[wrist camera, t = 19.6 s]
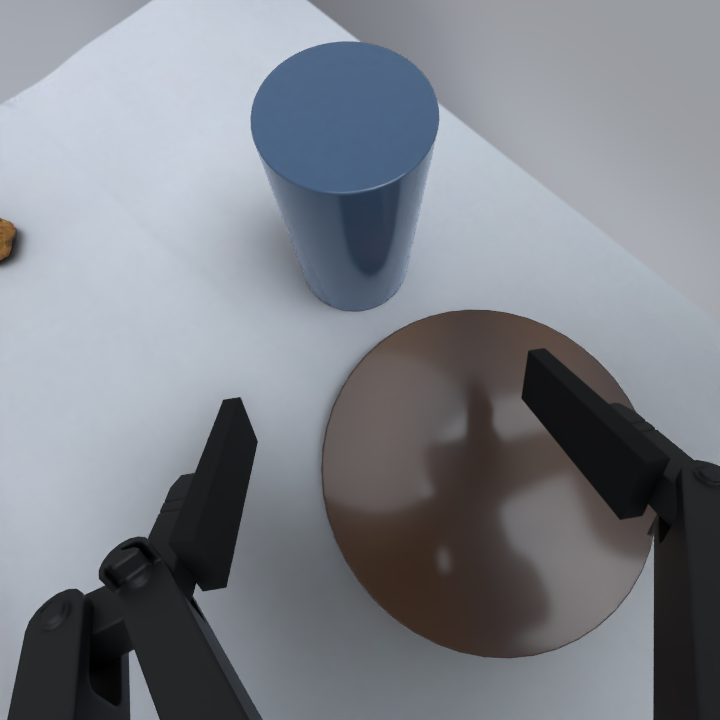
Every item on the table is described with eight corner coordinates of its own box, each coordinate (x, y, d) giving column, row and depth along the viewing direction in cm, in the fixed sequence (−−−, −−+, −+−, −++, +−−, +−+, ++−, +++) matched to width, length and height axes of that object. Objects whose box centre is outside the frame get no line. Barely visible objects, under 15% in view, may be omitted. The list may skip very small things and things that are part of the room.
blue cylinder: (395, 210, 24) (418, 28, 14) (416, 302, 23) (459, 176, 12) (297, 226, 24) (241, 54, 14) (310, 319, 23) (259, 208, 12)
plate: (580, 297, 23) (594, 287, 21) (686, 609, 18) (713, 623, 17) (306, 342, 22) (301, 335, 21) (350, 670, 18) (349, 690, 17)
